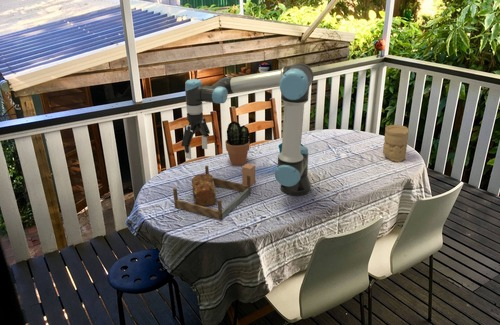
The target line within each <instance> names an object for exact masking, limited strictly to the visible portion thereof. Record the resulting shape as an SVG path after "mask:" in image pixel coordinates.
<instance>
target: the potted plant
mask: <svg viewBox="0 0 500 325" xmlns="http://www.w3.org/2000/svg"><path fill="white" fill-rule="evenodd" d="M226 138H227V139H226V140H225V150H226V152H227V154H228V158H229V161H230V164H231V165H232V166H236V167H237V166H239V167H240V166H244V165H245V164H247V158H248V153H249V150H250V131H249V128H248V127H247V126H245V125H244V124H243V125H242V126H241V124H240V123H239V122H237V121H235V120H233V121H231V122H230V123H229V124H228V125H227V129H226Z"/></svg>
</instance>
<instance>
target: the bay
mask: <svg viewBox="0 0 500 325" xmlns="http://www.w3.org/2000/svg"><path fill="white" fill-rule="evenodd" d="M204 169H205V174H210V172H209V171H210V169H209V165H204ZM212 177H213V176H212ZM213 181H214V187H218V188H222V189H227V190H232V191H235V192H241V193H239V195H238V196H237V197H236V198H234V200H232V201H231V202H230V203H229V204H228V205H227V206H226V207H225V208H223V205H222V199H221V198H220V199H217V207H218V208H217V209H213V208H211V207H208V206H207V207H206V206H200V205H196V204H195V203H191V202H188V201H184V200H181V199H178V189H177V188H176V187H174V188H172V191H173V192H172V193H173V201H174V208H176V209H180V210H184V211H186V212H190V213H194V214H197V215H202V216H205V217H208V218H213V219H215V220H219V221H222V220H224V218H225V217H227V215H229V214H230V213H231V212H232V211H233V210H234V209H235V208H236V207H237V206H239V204H241V202H243V201H244V200H245V199H246V198H247V197H249V195H251V192H252V190H251V189H252V188H251V187H252V186H251V183H250V175H247V185H244V184H243V183H238V182H234V181H230V180H225V179H221V178H218V177H213Z"/></svg>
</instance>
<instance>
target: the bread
mask: <svg viewBox="0 0 500 325" xmlns="http://www.w3.org/2000/svg"><path fill="white" fill-rule="evenodd" d="M191 185H192V193H193V198H194V204H196V205H200V206H203V207H206V206H207V207H208V206H215V204H216V188H215V187H216V186H214V181H213V175H212V174H210V173H209V174H206V173H199V174H196V175H195V176H193V177H192V179H191Z"/></svg>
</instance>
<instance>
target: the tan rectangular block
mask: <svg viewBox="0 0 500 325" xmlns="http://www.w3.org/2000/svg"><path fill="white" fill-rule="evenodd" d="M241 173H242V174H241V175H242V176H241V179H242V183H241V184H244V185H247V175H250V183H251V187H252V186H253V185H254V184H256V164H251V163H247V162H246V163H245V164H244V165H242V166H241Z"/></svg>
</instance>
